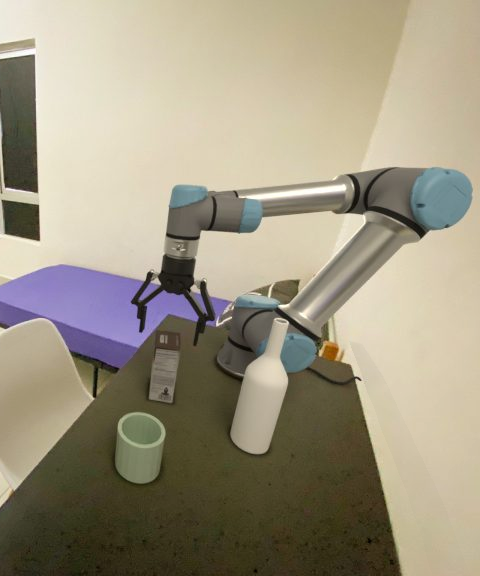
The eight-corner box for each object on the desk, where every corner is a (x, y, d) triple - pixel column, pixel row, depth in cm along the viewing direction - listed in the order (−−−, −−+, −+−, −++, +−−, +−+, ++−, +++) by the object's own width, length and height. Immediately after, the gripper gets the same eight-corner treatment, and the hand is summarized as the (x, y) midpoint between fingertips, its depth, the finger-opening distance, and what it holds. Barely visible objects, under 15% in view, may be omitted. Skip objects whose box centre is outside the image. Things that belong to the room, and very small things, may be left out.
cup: (164, 454, 70) (169, 420, 67) (153, 491, 62) (159, 454, 59) (123, 439, 73) (126, 406, 70) (108, 472, 65) (110, 437, 62)
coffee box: (149, 379, 94) (156, 328, 89) (172, 382, 93) (180, 332, 88) (148, 400, 86) (154, 346, 80) (173, 404, 85) (181, 349, 79)
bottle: (261, 461, 70) (299, 335, 59) (223, 439, 75) (252, 319, 64) (273, 440, 75) (310, 321, 64) (238, 421, 80) (266, 308, 69)
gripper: (122, 250, 77) (116, 331, 85) (237, 268, 68) (218, 357, 76) (132, 244, 84) (125, 319, 91) (238, 260, 75) (220, 342, 83)
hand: (167, 336), depth 84 cm, fingers open, 13 cm apart
